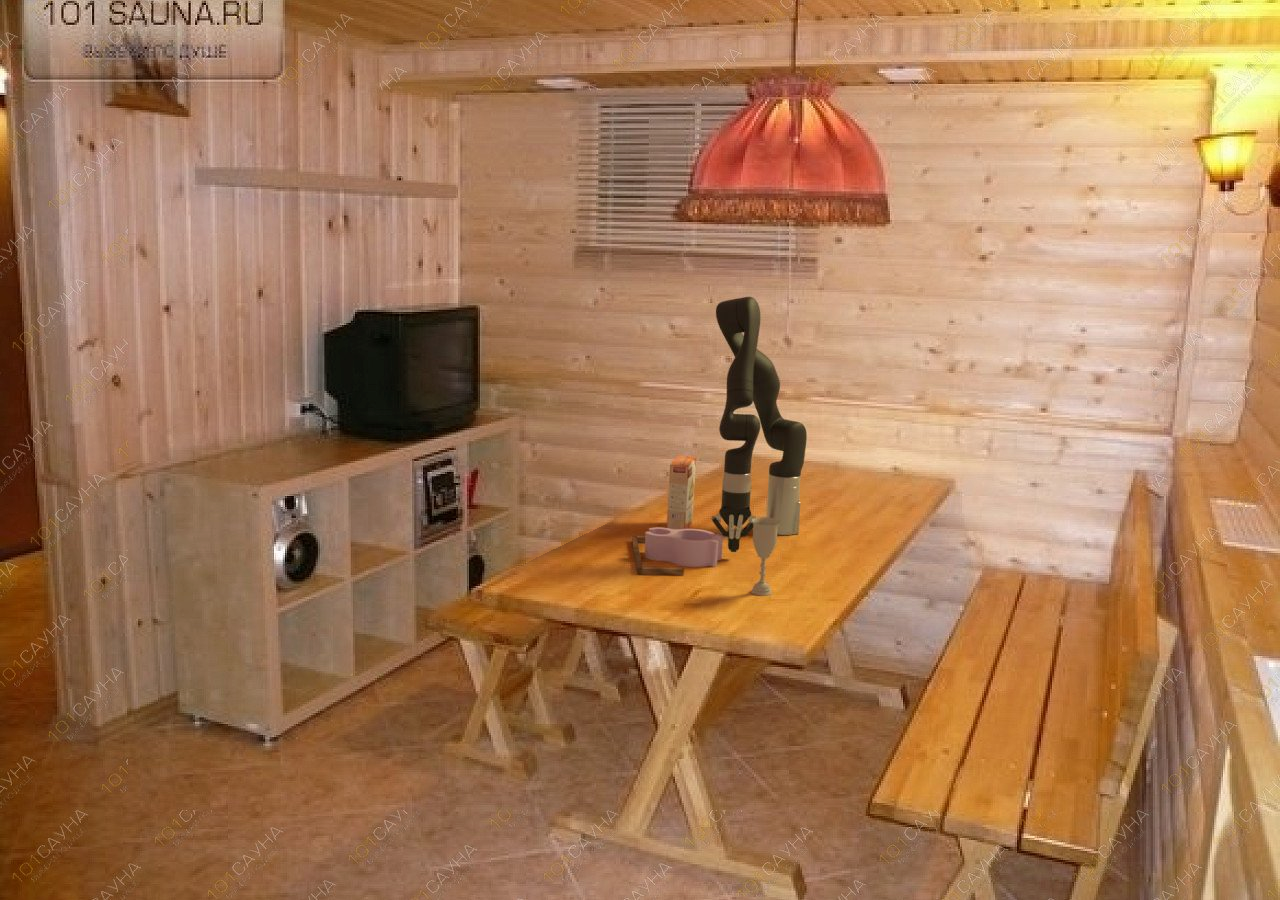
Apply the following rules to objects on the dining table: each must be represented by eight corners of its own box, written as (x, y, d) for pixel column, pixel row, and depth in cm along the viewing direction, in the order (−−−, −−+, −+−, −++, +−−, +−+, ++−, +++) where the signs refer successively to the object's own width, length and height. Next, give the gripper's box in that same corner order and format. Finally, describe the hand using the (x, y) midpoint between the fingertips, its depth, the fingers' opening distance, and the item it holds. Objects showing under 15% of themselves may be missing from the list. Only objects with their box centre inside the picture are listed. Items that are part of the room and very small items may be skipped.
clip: (640, 561, 286) (641, 536, 285) (652, 548, 298) (653, 524, 296) (714, 570, 281) (715, 544, 280) (723, 556, 293) (724, 532, 291)
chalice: (745, 587, 268) (749, 517, 264) (772, 587, 268) (776, 517, 265) (750, 597, 261) (754, 525, 257) (778, 597, 261) (782, 525, 258)
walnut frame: (673, 542, 304) (673, 536, 304) (683, 575, 275) (683, 569, 275) (632, 541, 304) (632, 536, 303) (637, 574, 275) (637, 568, 274)
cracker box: (686, 536, 310) (689, 465, 306) (665, 534, 311) (668, 463, 307) (693, 524, 324) (697, 455, 319) (673, 522, 325) (676, 454, 321)
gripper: (758, 485, 291) (755, 547, 294) (709, 484, 290) (706, 547, 293) (763, 492, 283) (759, 555, 287) (713, 491, 282) (710, 555, 286)
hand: (733, 551), depth 290 cm, fingers closed
